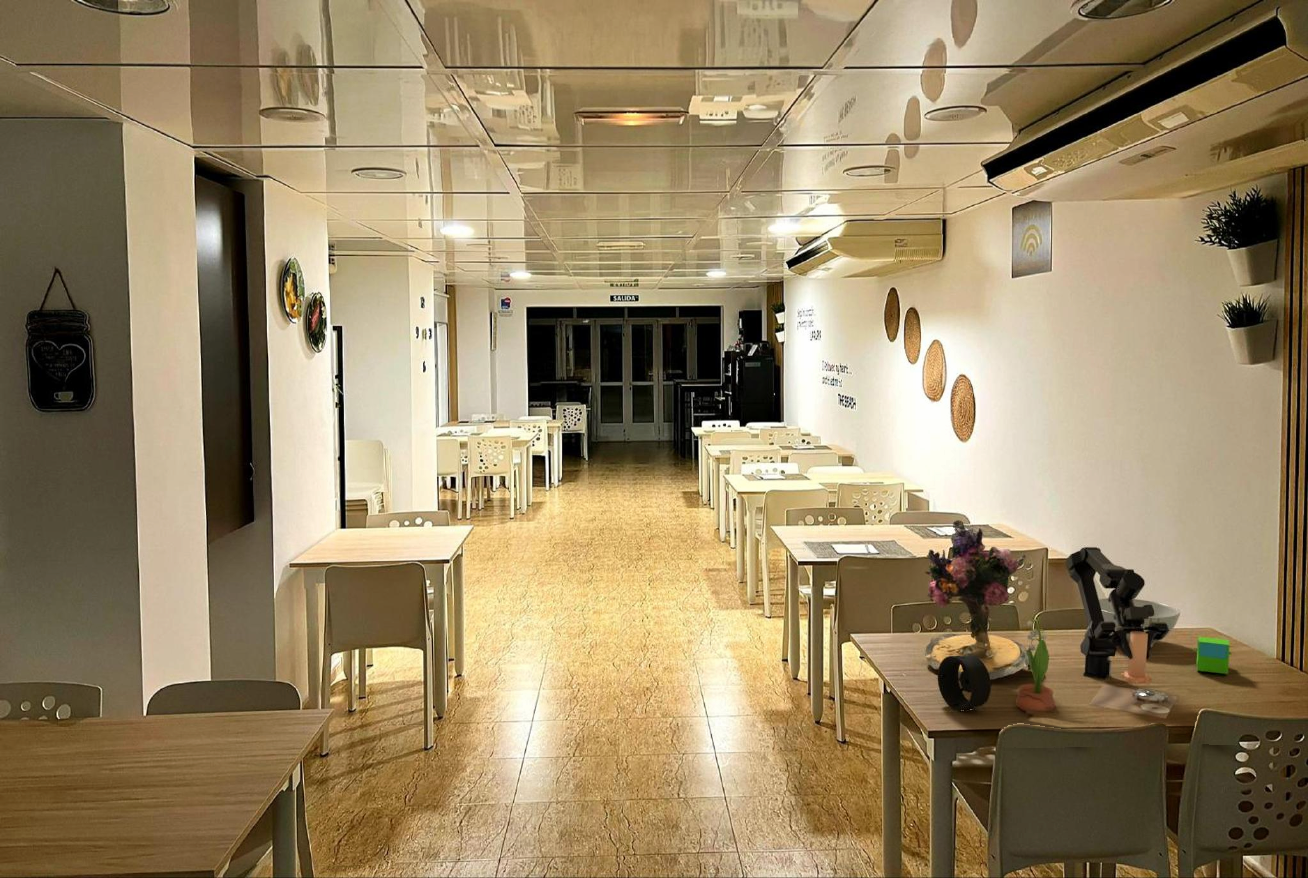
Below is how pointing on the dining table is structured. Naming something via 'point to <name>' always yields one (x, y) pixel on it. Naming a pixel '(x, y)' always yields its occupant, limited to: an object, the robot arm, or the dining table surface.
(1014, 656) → the bouquet
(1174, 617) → the decorative bowl
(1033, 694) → the potted flower
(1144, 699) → the gear
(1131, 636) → the gear spool
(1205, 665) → the blue-striped green cube
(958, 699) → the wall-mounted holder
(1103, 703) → the gear board
